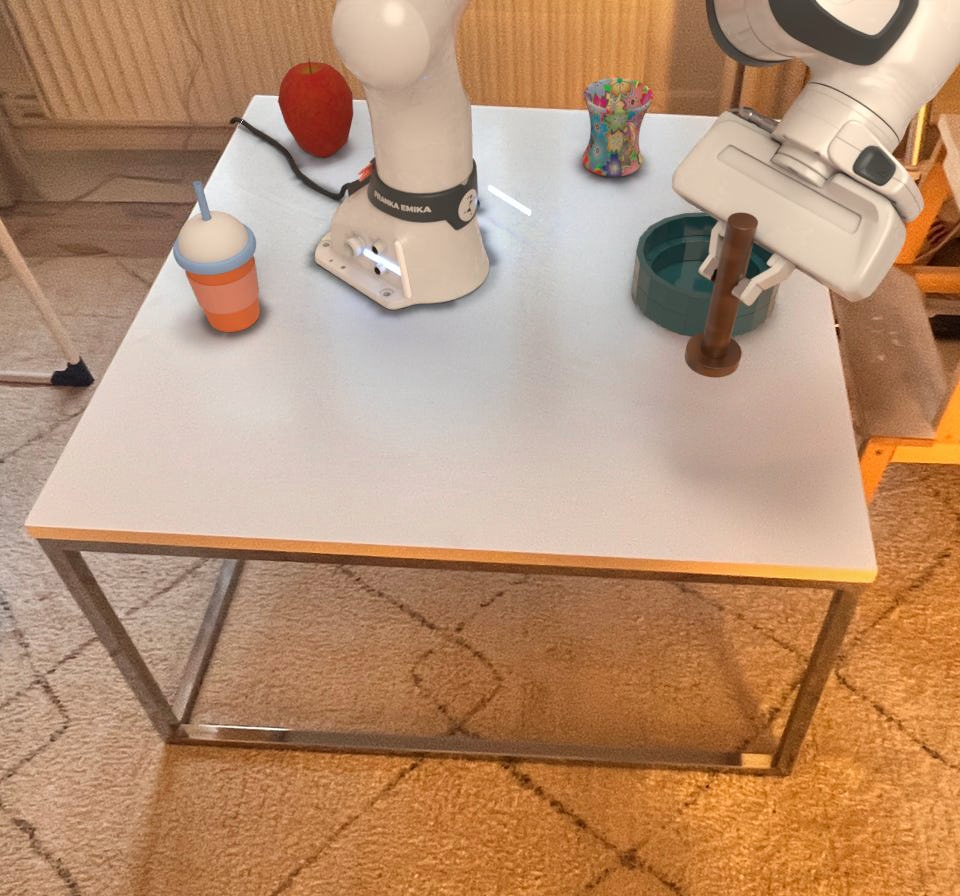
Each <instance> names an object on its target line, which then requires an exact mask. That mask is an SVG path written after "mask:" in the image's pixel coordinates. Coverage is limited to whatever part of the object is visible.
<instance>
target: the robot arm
mask: <svg viewBox="0 0 960 896" xmlns="http://www.w3.org/2000/svg"><path fill="white" fill-rule="evenodd" d="M704 1H705V11H706V17H707V22H708V27H709V30H710V33H711V35H712V37H713V39H714V41H715V43H716V45H717V46H718V47H719V49H720V50H721V51H722V52H723V53H724V54H725V56H728V58H730V59H732V60H733V61H734V62H736V63H739V64H740V65H743V66H746V67H751V68H758V69H759V68H772V67H776V66H778V65H781V64H784V63H786V62H787V63H788V62H790V61H791V60H796V59H799V60H800V61H801V62H802V63H804V64H805V65H806V66H807V67H808V68H809V69H810V78H809V80H808V82H807V83H806V84H805V85H804V87H803V88H802V90H801V91H800V93H799V94H798V96H797V97H796V98H795V100H794V101H793V103H791V105H790V107H789V108H788V109H787V111H786V112H785V114H784V115H783V117H782V118H781V119H780V121H778V120H776V119H773V118H772V117H770V116H768V115H767V116H766V115H764V114H761V113H759V112H757V110H756V109H754V108H752V107H749V106H745V105H743V106H741V107H735V108H730V109H727V110H725V111H723V112H721V114H719V115H718V117H717V118H716V119H715V121H714V123H713V124H712V126H710V128H709V130H708V132H707V133H706V134H705V135H704V136H703V137H702V138H701V139H700V140H699V141H698V142H697V143H696V144H695V145H694V146H693V148H692V149H691V150H690V151H689V152H688V154H686V156H685V157H684V159H683V160H682V161H681V162H680V164H679V165H678V166H677V167H676V169H675V170H674V172H673V174H672V178H671V188H672V190H673V191H674V192H675V193H676V194H677V195H678V196H679V197H680V198H681V199H682V200H684V201H685V202H687V203H689V204H690V205H691V206H693V207H695V208H696V209H698V210H699V211H700V212H705V213H706V214H708V215H709V216H711V217H713V218H714V219H716V220H718V222H717V223H716V225H715V226H714V228H713V229H712V231H711V238H710V246H709V255H708V256H707V258H706V259H705V261H704V262H703V263H702V265H701V266H700V268H699V271H698V272H699V273H700V274H701V275H702V276H704V277H705V278H707V279H708V280H710V281H711V282H713V283H714V282H715V277H716V272H717V268H718V263H719V258H720V253H721V249H722V244H723V239H724V234H725V229H726V225H727V220H728V217H729V216H730V215H732V214H734V213H739V212H743V213H748V214H751V215H753V216H754V217H756V219H757V220H758V226H757V230H756V234H755V238H754V243H755V244H757V245H759V246H760V247H762V248H763V249H765V250H767V251H768V252H770V253H772V254H773V255H772V256H771V257H770V259H769V260H768V261H767V265H768V266H769V267H770V268H769V269H768V270H766V271H764V272H762V273H761V274H759V275H757V276H755V277H754V278H752V279H748V278H746V277H745V276H742V277H741V279H740V280H739V281H738V285H737V286H734V288H733V289H732V291H731V294H732V295H733V296H734V297H736V298H737V299H738V300H740V301H741V302H743V303H744V304H746V305H747V306H750V305H752V304H753V302H754V301H755V300H756V298H757V297H758V296H759V295H760V293H761V292H762V291H763V290H766V289H768V288H770V287H772V286H774V285H776V284H779V283H780V284H781V283H782V282H785V281H787V280H788V278H789V277H790V276H791V275H792V273H793V272H794V270H795V269H796V270H798V271H799V272H801V273H803V274H804V275H806V276H808V277H809V278H811V279H813V280H814V281H815V282H817V283H819V284H821V285H822V286H824V287H825V288H828V289H829V290H831V291H832V292H834V293H835V294H837V295H839V296H840V297H842V298H844V299H846V300H847V301H849V302H851V303H855V302H856V303H857V302H859V301H862V300H864V299H867V298H868V297H871V295H872V294H874V292H875V291H876V289H878V287H879V285H880V284H881V282H882V281H883V280H884V279H885V277H886V276H887V274H888V273H889V271H890V270H891V268H892V267H893V265H894V263H895V262H896V260H897V259H898V256H899V255H900V253H901V251H902V250H903V247H904V245H905V243H906V238H907V230H906V225H905V224H904V223H911V222H913V221H915V220H916V219H917V218H918V217H919V215H920V214H922V212H923V211H924V208H925V202H924V199H923V196H922V192H921V191H920V189H919V187H918V185H917V183H916V182H915V180H914V179H913V177H912V176H911V174H910V173H909V172H908V170H907V169H906V168H905V167H904V165H902V163H901V162H900V161H899V160H898V158H897V157H896V156H895V155H893V153H894V151H895V150H896V149H897V147H898V146H899V145H900V143H901V141H902V140H903V138H904V136H905V135H906V132H907V128H908V127H909V124H910V123H911V121H912V119H913V118H914V117H915V115H916V114H917V113H918V112H919V111H920V110H921V109H922V108H923V107H924V106H925V105H927V104H928V103H929V102H931V101H932V100H933V99H934V98H935V97H936V96H937V95H938V93H939V92H940V91H941V89H942V88H943V86H944V85H945V84H946V83H947V81H948V79H949V78H950V77H951V76H952V74H953V72H954V71H955V70H956V69H957V67H958V66H959V65H960V0H704ZM472 2H473V0H337V1H336V3H335V8H334V12H333V17H332V21H331V36H332V42H333V45H334V49H335V51H336V53H337V56H338V57H339V59H340V61H341V62H342V64H343V66H344V67H345V68H346V69H347V70H348V71H349V72H350V73H351V74H352V75H353V76H354V77H356V78H357V79H358V82H359V84H360V87H361V89H362V92H363V95H364V98H365V102H366V105H367V109H368V114H369V119H370V127H371V135H372V142H373V143H372V144H373V150H374V157H373V158H372V159H370V160H369V164H368V165H366V166H365V167H364V168H362V169H361V170H360V171H359V172H358V176H360V175H361V176H360V177H359V178H358V179H356V180H354V181H351V182H346V183H344V184H342V186H341V187H340V190H339V192H338V193H335V192H331V191H329V190H327V189H325V188H323V187H321V186H319V185H318V184H317V183H316V182H314V181H313V180H311V178H309V177H308V176H306V175H305V174H304V173H303V172H302V171H301V170H300V169H299V167H298V166H297V164H296V161H295V159H294V158H293V155H291V153H290V151H289V150H287V148H286V147H284V146H283V145H282V143H280V142H279V141H277V140H276V139H274V138H273V137H271V136H269V135H268V134H266V133H264V132H263V131H261V130H259V129H258V128H256V127H254V126H253V125H252V124H251V123H249V122H248V121H246V120H245V119H243V118H241V117H239V116H234V117H232V118H230V120H229V124H231V125H235V124H236V123H238V124H240V123H241V121H242V120H243V121H242V123H241V124H240V125H242V126H243V127H244V128H246V129H247V130H249V131H250V132H251V133H253V134H254V135H256V136H258V137H259V138H261V139H263V140H265V141H266V142H268V143H270V144H271V145H272V146H274V147H275V148H277V150H279V151H280V152H281V153H282V154H283V155H284V156H285V157H286V160H287V161H288V163H289V165H290V167H291V169H292V171H293V172H294V173H295V175H296V176H297V177H298V178H299V179H300V180H302V181H303V182H304V183H305V184H306V185H307V186H309V187H310V188H312V190H314V191H316V192H317V193H319V194H322V195H324V196H326V197H329V198H330V199H333V200H342V199H343V198H344V197H345V195H346V192H347V195H348V197H347V198H346V199H345V200H343V201H342V202H341V203H340V204H339V206H338V207H337V209H336V210H335V211H334V213H333V215H332V218H331V221H330V230H329V231H328V232H327V233H326V234H325V235H324V236H323V237H322V238H321V240H320V241H319V243H318V244H317V245H316V246H317V247H316V249H315V252H314V262H315V263H316V264H317V265H319V266H320V267H321V268H323V269H325V270H327V271H328V272H329V273H330V274H333V275H334V276H335V277H337V278H339V279H340V280H342V281H343V282H344V283H346V284H348V285H350V286H351V287H353V288H354V289H355V290H358V291H359V292H361V293H362V294H364V295H365V296H366V297H369V299H371V300H373V301H374V302H376V303H377V304H379V305H381V306H382V307H383V308H385V309H387V310H400V309H403V308H407V307H410V306H413V305H421V304H423V305H424V304H440V303H445V302H450V301H453V300H457V299H460V298H462V297H464V296H467V295H469V294H470V293H472V292H474V291H475V290H477V288H479V287H481V285H482V284H483V283H484V281H486V278H487V277H488V276H489V273H490V268H491V267H490V260H489V256H488V254H487V251H486V249H485V245H484V242H483V238H482V233H481V230H480V225H479V219H478V209H477V202H478V200H479V185H478V183H479V181H478V168H477V162H476V160H475V159H474V155H473V154H474V153H473V150H474V149H473V123H472V122H473V121H472V119H473V118H472V117H473V116H472V101H471V97H470V95H469V93H468V92H467V90H466V89H465V88H464V85H463V81H462V77H461V73H460V68H459V63H458V55H457V46H458V45H457V44H458V36H459V32H460V27H461V23H462V20H463V18H464V16H465V14H466V12H467V11H468V9H469V7H470V5H471V3H472ZM736 114H737V115H736ZM487 187H488V191H489V192H491V193H492V194H494V195H495V196H497V197H499V198H500V199H502V200H503V201H505V202H507V203H508V204H510V205H511V206H513V207H515V208H516V209H517V210H519V211H521V212H522V213H524V214H525V215H528V216H531V215H532V209H529V208H528V207H526V206H525V205H523V204H521V203H520V202H518V201H517V200H515V199H514V198H512V197H510V196H508V195H507V194H505V193H504V192H502V191H500V190H499V189H498V188H496V187H494V186H492V185H491V184H489V185H488V186H487Z"/></svg>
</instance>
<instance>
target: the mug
mask: <svg viewBox="0 0 960 896" xmlns="http://www.w3.org/2000/svg"><path fill="white" fill-rule="evenodd" d="M582 96H583V100H584V102H585V104H586V108H587V112H588V116H589V124H590V132H589V133H590V134H589V140H588V143H587V146H586V149H585V150H584V152H583V154H582V157H581V160H582V163H583V166H584V167H585V168H586V169H587V170H588V171H590V172H591V173H594V174H596V175H598V176H602V177H608V178H619V177H625V176H629V175H632V174H633V173H635V172H637V171H638V170H639V169H640V168H641V167H642V165H643V161H644V159H643V155H642V153H641V148H640V132H641V127H642V124H643V121H644V118H645V116H646V114H647V111H648V109H649V108H650V106H651V104H653V103H652V102H653V101H654V93H653V91H652V89H651V88H650V87H649V86H648V85H647V84H645V83H643V82H641V81H638V80H636V79H631V78H626V77H608V78H602V79H599V80H595V81H594V82H591V83H590V84H588V85H587V86H586V88H585V89H583V95H582Z"/></svg>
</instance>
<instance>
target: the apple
mask: <svg viewBox="0 0 960 896" xmlns="http://www.w3.org/2000/svg"><path fill="white" fill-rule="evenodd" d="M353 96H354V95H353V91H352V89H351V88H350V86H349V84H348V82H347V81H346V78H345V77H344V75H343V74H341V72H340V71H338V70H337V69H336V68H335V67H333V66H331V64H328V63H325V62H317V61H311V60H310V58H308V61H307V62H301V63H298V64H296V65H294V66H292V67H291V68H290V69H288V70H287V73H286V74H285V75H284V77H283V78H282V79H281V82H280V86H279V91H278V97H277V98H278V99H277V103H278V107H279V108H280V112H281V115H282V118H283V121H284V124H285V126H286V127H287V130H288V131H289V133H290V134H291V136H292V137H293V139H294V141H295V142H296V144H297V145H298V147H299V148H301V149H302V150H303V151H305V152H307V153H309V154H310V155H311V156H313V157H316V158H322V159H323V158H324V159H325V158H329V157H332V156H334V155H335V154H336V153H337V152H338V151H340V149H341V148H343V147H344V146H345V145H346V144H347V143H348V141H349V137H350V132H351V127H352V122H353V119H354V99H353Z"/></svg>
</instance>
